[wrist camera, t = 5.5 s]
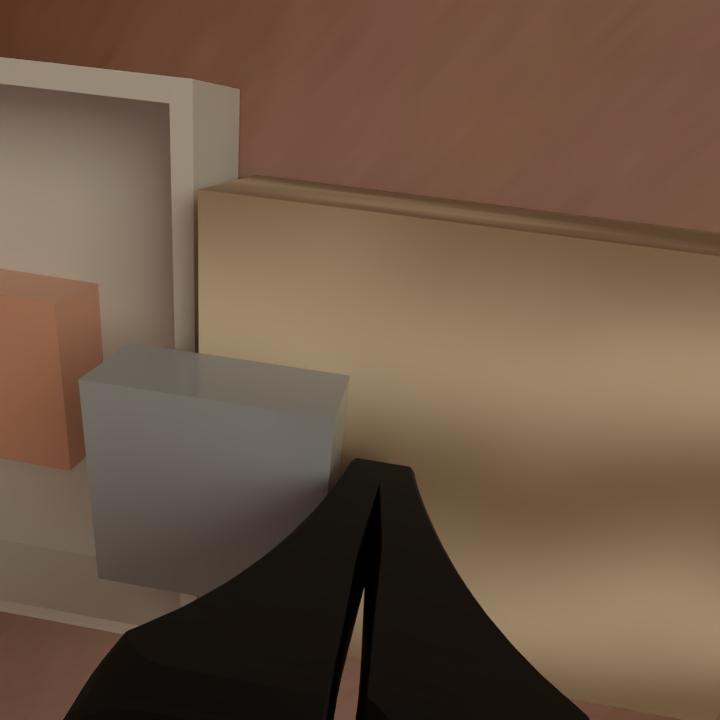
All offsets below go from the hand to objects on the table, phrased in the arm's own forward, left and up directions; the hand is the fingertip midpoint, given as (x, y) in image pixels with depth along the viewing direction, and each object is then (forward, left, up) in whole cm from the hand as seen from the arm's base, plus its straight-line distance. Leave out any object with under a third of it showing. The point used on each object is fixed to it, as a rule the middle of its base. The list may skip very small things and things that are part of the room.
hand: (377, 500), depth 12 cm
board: (0, -3, -5) cm, 6 cm away
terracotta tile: (0, +11, -2) cm, 11 cm away
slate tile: (0, +3, -1) cm, 4 cm away
